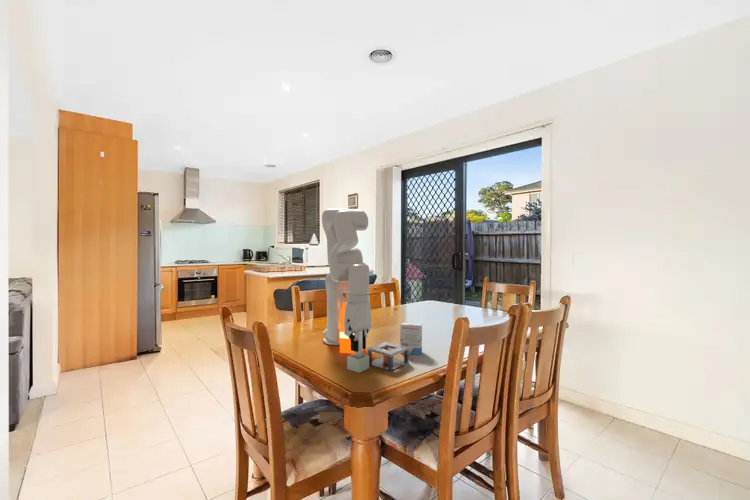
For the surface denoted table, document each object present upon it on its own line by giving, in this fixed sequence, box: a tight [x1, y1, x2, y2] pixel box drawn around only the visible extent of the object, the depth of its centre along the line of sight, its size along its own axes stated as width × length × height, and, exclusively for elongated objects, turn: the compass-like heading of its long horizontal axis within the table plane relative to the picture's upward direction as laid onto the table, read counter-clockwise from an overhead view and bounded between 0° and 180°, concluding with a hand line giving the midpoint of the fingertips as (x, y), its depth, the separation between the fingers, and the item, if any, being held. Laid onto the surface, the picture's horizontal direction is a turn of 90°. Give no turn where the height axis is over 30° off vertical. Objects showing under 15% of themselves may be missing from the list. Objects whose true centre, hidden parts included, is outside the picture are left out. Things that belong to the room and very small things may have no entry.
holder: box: [346, 353, 370, 374], centre depth 127 cm, size 6×6×4 cm
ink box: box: [399, 322, 423, 356], centre depth 146 cm, size 9×5×12 cm, turn 74°
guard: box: [366, 341, 410, 372], centre depth 132 cm, size 11×11×6 cm
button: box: [382, 354, 388, 364], centre depth 132 cm, size 4×4×3 cm
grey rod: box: [355, 330, 364, 359], centre depth 126 cm, size 3×3×16 cm
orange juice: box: [339, 302, 365, 355], centre depth 147 cm, size 8×9×20 cm
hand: (358, 349), depth 127 cm, fingers open, 3 cm apart
